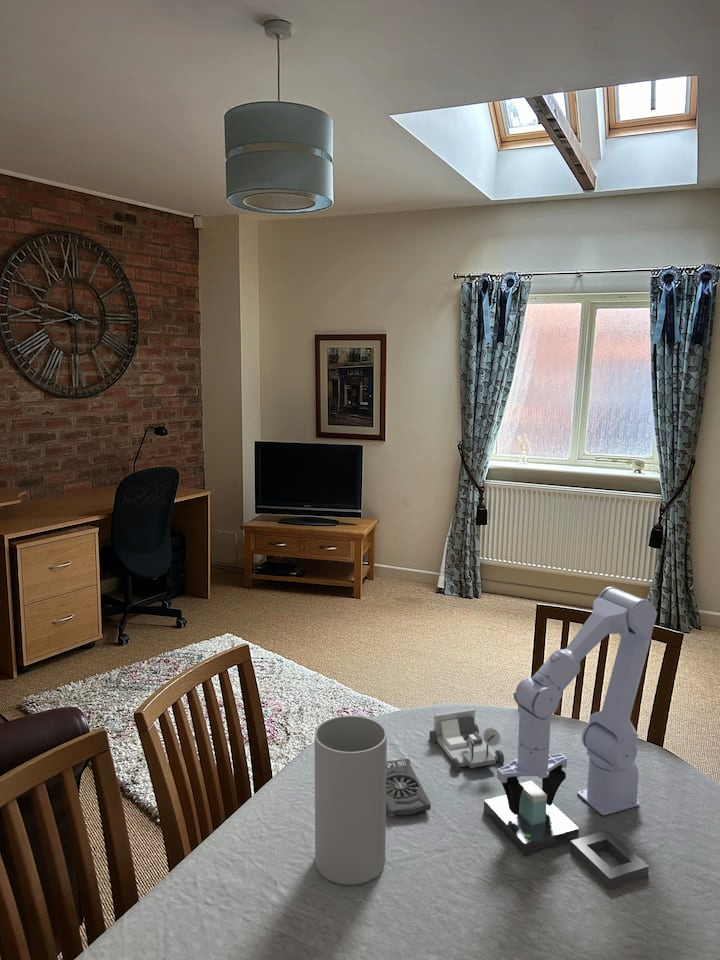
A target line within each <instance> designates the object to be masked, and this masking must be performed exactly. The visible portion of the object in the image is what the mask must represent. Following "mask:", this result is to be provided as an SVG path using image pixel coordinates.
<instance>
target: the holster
mask: <svg viewBox="0 0 720 960" xmlns="http://www.w3.org/2000/svg"><path fill="white" fill-rule="evenodd" d="M603 850H607V851H608V852H609V853H610V855H612V856H613V857H614V858H615V859H616V860H618V861H619V862H620V863H621V864H620V865H616V866H614V867H610V865H609V864H608V863H607V862H605V861H604V860H603V859H602V858H601V857H600V856H599V855H598V854H597V853H596V852H600V851H603ZM569 851H570V852H571V853H572V854H573V855H574V856H575V857H576V858H577V859H578V860H579V861H580V862H581V863H582V864H583V865H584V866H585V867H586V868H587V869H588V870H589V871H590V872H591V873H592V874H593V875H594V876H595V877H596V878H597V879H598V880H599V881H600V882H601V883H602V884H603V885H604V886H605V887H606V888H607V889H608V890H611V889H614V888H616V887H620V886H623V885H626V884H629V883H632V882H636V881H638V880H641V879H645V878H647V877H649V872H650V866H649V865H648V864H647V863H646V862H645V861H644V860H643V859H641V858H640V857H639V856H638V855H637V854H636V853H635V852H634V851H632V849H630V848H629V846H627V845H626V844H625V843H624V842H622V841H621V840H620V839H619V838H618V837H617V836H616V835H614V834H613V832H611V831H610V830H609V829H605V830H602V831H599V832H597V833H593V834H589V835H584V836H581V837H579V838H578V839H575V840H571V842H570V843H569Z"/></svg>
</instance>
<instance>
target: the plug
mask: <svg viewBox="0 0 720 960" xmlns="http://www.w3.org/2000/svg"><path fill="white" fill-rule="evenodd" d="M519 784H520V785H522V786H523V787H524V789H523V791H522V793H521V797H520V804H519V813H518V815H519V816H520V817H521V818H522V819H523V820H524V821H525V822H526V823H527V824H528V825H529V826H530V827H531V826H534V825H538V824H542V823H545V822H546V805H547V794H546V793H545V792H544V791H542V788H541V787H539V786H538V785H537V784H536V783H535V782H534V781H533V780H532V779H531V780H527V781H525V782H524V781H523V782H519Z"/></svg>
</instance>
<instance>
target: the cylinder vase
mask: <svg viewBox="0 0 720 960" xmlns="http://www.w3.org/2000/svg"><path fill="white" fill-rule="evenodd" d="M387 735H388V733H387V729H386V728H385V727H384V725H383V724H381V723H380V722H379V721H377V720H375V719H373V718H370V717H366V716H361V715H340V716H335V717H332V718H328V719H327V720H324V721H323V722H321V723H320V724H319V725H318V726H317V727H316V729H315V730H314V848H315V849H314V854H315V855H314V859H315V860H314V861H315V867H316V868H317V870H318V872H319V873H320V874H321V875H322V876H323V877H324V878H325V879H327V880H329V881H330V882H332V883H335V884H338V885H344V886H357V885H361V884H366V883H368V882H370V881H372V880H374V879H375V878H377V876H378V875H380V873H381V872H382V871H383V869H384V867H385V863H386V838H387V836H386V833H387V832H386V827H387V825H386V823H387V822H386V821H387V817H386V815H387V814H386V812H387V810H386V762H387V749H388V748H387V746H388V744H387V743H388V740H387V739H388V736H387Z"/></svg>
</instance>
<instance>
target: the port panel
mask: <svg viewBox="0 0 720 960" xmlns="http://www.w3.org/2000/svg"><path fill="white" fill-rule="evenodd" d="M483 813H484V814H485V815H486V816H487V817H488V818H489V819H490V820H491V822H492V823H493V824H494V825H495V826H496V827H497V828H498V829H499V830H500V831H501V832H502V834H504V836H506V837H505V838H507V839H508V841H510V842H511V844H513V846H514V847H515V848H516V849H517V850H518V851H519V852H520V853H521V855H522V856H524V857H527V856H530V855H533V854H536V853H540V852H543V851H547V850H551V849H554V848H557V847H560V846H564V845H568V844H570V842H571V840H575V839H578V838H580V835H579V834H580V828H579V826H577V824H575V823H574V822H573V821H572V820H571V819H570V818H569V817H567V816H566V814H564V813H563V812H562V811H561V810H560V809H559V808H558V807H557V806H555V805H554V803H552V805H551V806H548V805H546V822H545V823H542V824H538V825H534V826H531V827H530V826H529V825H528V824H527V823H526V822H525V821H524V820H523V819H522V818H521V817H520V816H519V815H518V814H517V815H514V814H513V813H512V812H511V811H510V810H509V805H508V800H507V796H506V794H504V795H499V796H495V797H490V798H486V799H483Z"/></svg>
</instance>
